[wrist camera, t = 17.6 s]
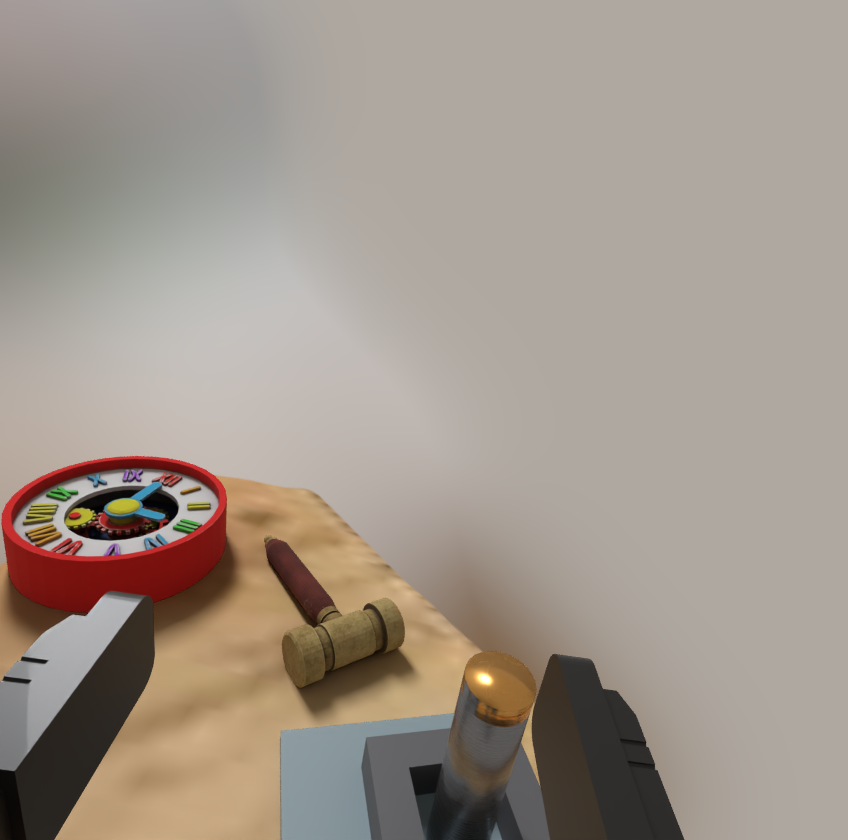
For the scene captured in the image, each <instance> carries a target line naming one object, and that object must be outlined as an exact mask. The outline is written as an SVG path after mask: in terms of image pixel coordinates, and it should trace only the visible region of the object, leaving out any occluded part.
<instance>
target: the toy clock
mask: <svg viewBox="0 0 848 840" xmlns="http://www.w3.org/2000/svg"><path fill="white" fill-rule="evenodd" d="M226 508H227V497H226V491H225V488H224V487H223V485H222V483H221V482H220V481H219V480H218V479H217V478H216V477H215V476H214V475H213V474H211V473H209V472H208V471H207V470H205V469H203V468H200V467H198V466H196V465H193V464H190V463H186V462H183V461H178V460H173V459H168V458H159V457H144V456H143V457H142V456H130V457H114V458H105V459H98V460H93V461H87V462H83V463H79V464H75V465H71V466H68V467H65V468H62V469H59V470H56V471H53V472H51V473H48V474H46V475H44V476H42V477H40V478H37V479H36V480H34V481H32V482H31V483H29V484H27V485H26V486H24V487H23V488H22V489H20V490H19V491H18V492H17V493H16V494H14V495H13V497H12V498H11V499H10V500H9V502H8V503H7V504H6V506H5V508H4V510H3V513H2V530H3V537H4V544H5V551H6V557H7V565H8V572H9V576H10V578H11V581H12V584H13V585H14V586H15V587H16V589H17V590H18V591H19V592H20V593H21V594H22V595H24V596H26V597H27V598H29V599H30V600H32V601H34V602H36V603H39V604H41V605H44V606H46V607H50V608H54V609H59V610H64V611H72V612H85V613H89V612H90V611H91V610H92V608H93V607H94V606H95V605H96V604H97V602H98V601H99V600H100V599H101V598H102V597H103V596H104V594H106V593H107V592H109V591H117V592H124V593H131V594H138V595H145V596H150V597H151V598H152V600H153V603H155V602H157V601H160V600H163V599H166V598H168V597H171V596H173V595H175V594H177V593H179V592H181V591H183V590H185V589H187V588H189V587H190V586H192V585H194V584H195V583H197V582H198V581H200V580H201V579H202V578H203V577H205V576H206V575H207V574H208V573H209V572H210V571H211V570H212V569H213V568H214V567H215V565H216V564H217V563H218V562H219V560H220V558H221V556H222V554H223V552H224V549H225V542H226Z"/></svg>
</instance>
